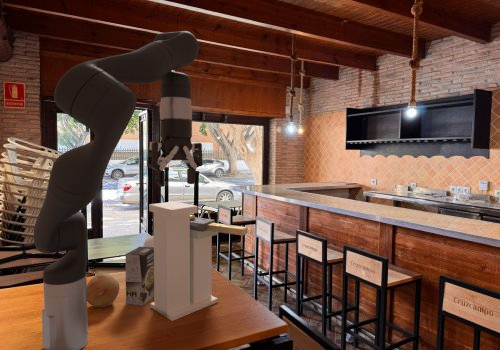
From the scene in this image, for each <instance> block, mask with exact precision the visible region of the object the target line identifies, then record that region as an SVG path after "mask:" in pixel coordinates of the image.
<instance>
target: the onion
mask: <svg viewBox="0 0 500 350" xmlns="http://www.w3.org/2000/svg"><path fill="white" fill-rule="evenodd" d="M86 284H87V304H89V305H91V306H92V307H94V308H105V307H109V306H110V305H112V304H113V303H114V302H115V300H116V299H117V297H118V296H119V292H120V284H119V281H118V280H117V279H116V278H115V277H113V276H112V275H110V274H107V273H98V274H96V275H94V276H93V277H92V278H90V280H89V281H88V283H86Z"/></svg>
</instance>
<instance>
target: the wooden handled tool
mask: <svg viewBox="0 0 500 350" xmlns="http://www.w3.org/2000/svg"><path fill="white" fill-rule="evenodd" d="M190 230H196V231H203V232H204V231H206V230H207V231H214V232H218V233H220V234H221V233H222V234H230V235H237V236H246V234H248V231H249V230H248V227H247V226H241V225H232V224H226V223H217V222H216V221H215V219H211V218H202V217H196V215H194V214H190Z"/></svg>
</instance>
